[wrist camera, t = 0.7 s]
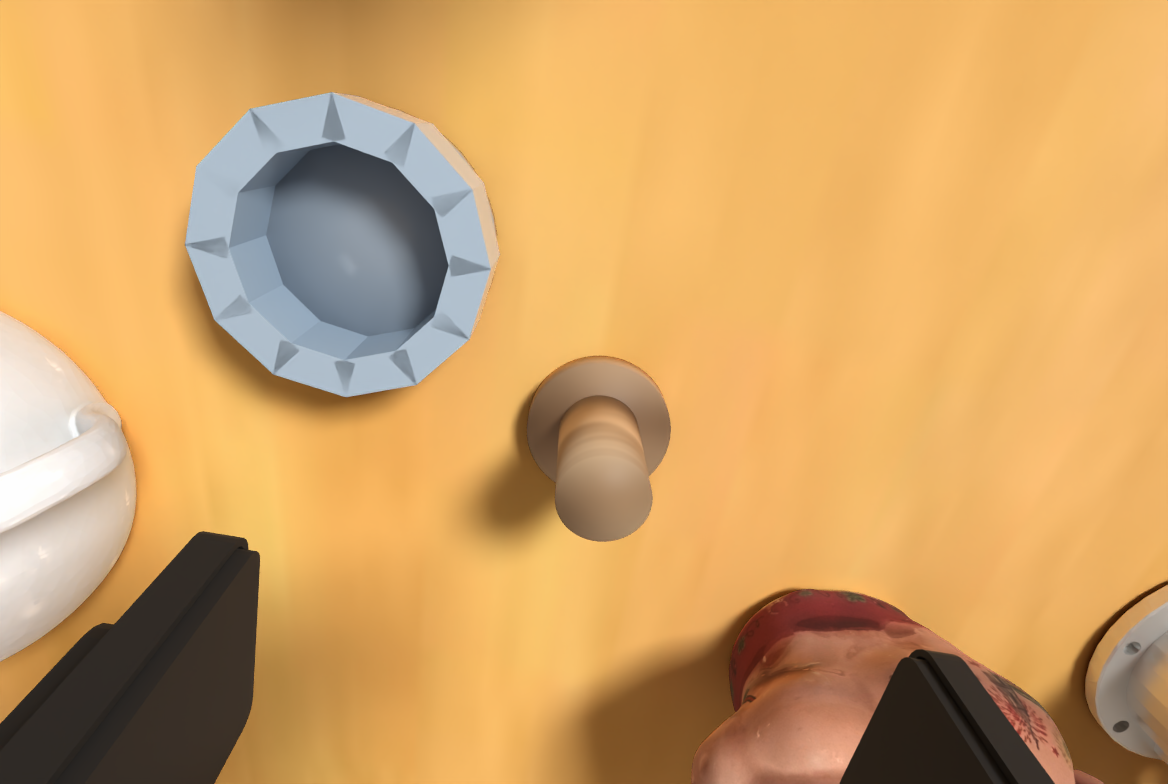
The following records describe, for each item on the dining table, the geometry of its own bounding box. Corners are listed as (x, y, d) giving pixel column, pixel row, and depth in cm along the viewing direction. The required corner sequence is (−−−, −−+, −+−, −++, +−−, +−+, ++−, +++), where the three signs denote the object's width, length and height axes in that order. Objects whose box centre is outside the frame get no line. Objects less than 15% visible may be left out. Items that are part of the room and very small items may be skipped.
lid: (675, 470, 33) (701, 559, 26) (543, 492, 33) (535, 585, 26) (656, 344, 30) (679, 405, 24) (515, 369, 31) (498, 435, 24)
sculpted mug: (1063, 569, 35) (1349, 829, 22) (994, 745, 39) (1199, 1047, 26) (679, 547, 34) (741, 803, 21) (652, 728, 39) (690, 1031, 26)
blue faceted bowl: (521, 338, 30) (514, 367, 26) (290, 379, 31) (250, 414, 27) (463, 77, 26) (444, 69, 23) (200, 130, 27) (140, 130, 23)
